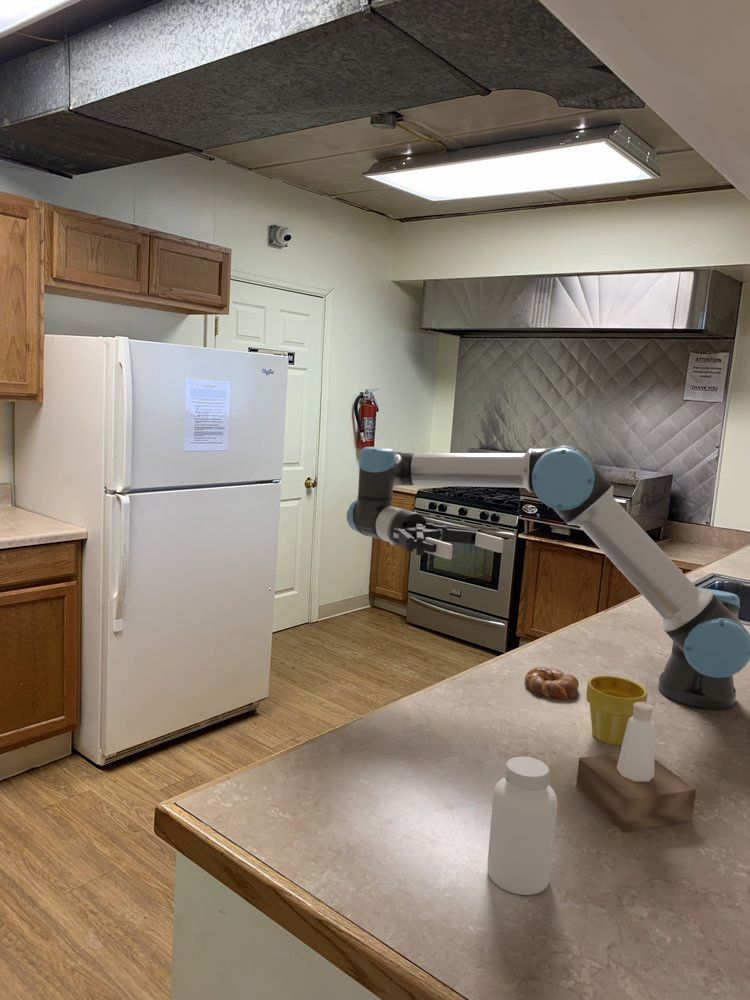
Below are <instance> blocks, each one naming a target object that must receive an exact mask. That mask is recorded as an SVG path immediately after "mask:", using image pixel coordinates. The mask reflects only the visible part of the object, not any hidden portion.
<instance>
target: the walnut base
mask: <svg viewBox="0 0 750 1000" xmlns="http://www.w3.org/2000/svg"><path fill="white" fill-rule="evenodd" d="M619 756H620V752H619V753H618V752H617V753H611V754H600V755H593V756H591V755H590V756H583V757H579V758H578V764H577V773H576V782H575V788H576V789H577V790H578V791H579V792H580V793H581V794H582V795H583V796H584V797H586V799H587V800H589V801H590V803H592V804H593V805H594V806H595V807H596V808H597V809H598V810H600V811H601V813H603V814H604V815H605V816H606V817H607V818H609V820H610V821H612V822H613V823H614V824H615V825H616V826H617V827H618V828H619V829H620V830H621V831H623V832H624V833H625V832H626V833H627V832H632V831H638V830H646V829H651V828H657V827H662V826H671V825H674V824H675V825H676V824H680V823H681V824H682V823H683V824H684V823H688V822H693V815H694V809H695V808H694V807H695V800H696V795H697V789H696V788H695V787H694V786H693V785H690V784H689V783H688V782H686V781H685V780H684V779H682V778H681V777H679V775H677V774H676V773H674V772H672V771H671V770H670V769H669V768H667V767H666V766H664V765H663V764H662V763H661V762H659V761H658V760H656V759H655V758H654V777H653V778H652V779H651V780H650V781H649V782H635V781H632V780H630V779H627V778H625V777H622V776H621V774H620V773H619V771H618V770H617V764H618V760H619Z"/></svg>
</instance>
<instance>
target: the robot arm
mask: <svg viewBox="0 0 750 1000" xmlns="http://www.w3.org/2000/svg"><path fill="white" fill-rule="evenodd" d="M358 466H359V471H358V487H357V489H358V490H357V499H356V500H354V501H352V503H351V504H350V505H349V508H348V510H347V511H346V521H347V523H348V526H349V528H350V529H351V530H353V531H354V532H357V533H359V534H361V535H362V536H366V537H371V538H374V539H378V540H380V541H385V542H388V543H389V545H390V546H395V545H397V546H400V547H402V548H404V549H405V550H406V551H407V552H409V553H412V552H414V550H415V549H416V550H415V551H416V553H415V554H416V555H417V556H423V555H424V553H426V554H430V555H433V556H436V557H439V558H442V559H446V560H452V558H453V549H454V547H453V546H454V544H452V543H457V544H468V545H469V544H470V545H474V546H475V547H478V548H481V549H485V550H488V551H490V552H495V553H499V554H500V553H501V554H502V553H503V547H504V538H502V537H498V536H495V535H490V534H488V533H487V534H486V531H485V530H483V529H482V528H480V527H479V528H478V529H473V528H467V527H459V526H452V525H448V524H444V523H441V524H438V525H437V524H434V523H429V522H427V520H426V518H425V517H424V516H423V515H422V514H421V513H419V512H416V511H412V510H407V509H404V508H400V507H396V506H392V505H393V493H394V487H395V486H401V487H402V486H407V487H408V486H409V487H411V486H424V487H425V486H426V487H427V486H428V487H429V486H430V487H432V486H433V487H471V488H472V487H477V488H479V487H481V488H482V487H483V488H521V489H523V488H524V489H526V490H527V492H529V493H535V495H536V496H537V498H538V499H539V501H541V502H542V503H543V504H545V505H546V506H547V507H549V508H551V509H553V510H554V512H555V513H557V515H558V516H559V517H560V518H561V519H562V520H563V521H564V523H566V524H567V526H569V525H570V526H578V527H580V528H581V530H583V531H584V533H585V534H586V535H587V536H588V537H589V538H590V540H592V542H593V543H594V544H595V545H596V546H597V547H598V548H599V549H600V550H601V552H603V554H604V555H605V556H606V558H608V559H609V560H610V561H611V563H612V564H613V565H614V566H615V567H616V568H617V570H619V571H620V572H621V573H622V574H623V576H624V577H625V578H626V579H627V580H628V581H629V582H630V584H632V586H633V587H634V588H636V589H637V591H638V592H639V593H640V594H641V596H643V598H645V600H646V601H647V602H648V603H649V604H650V605H651V606H652V608H654V610H656V612H657V613H658V614H659V615H660V617H662V630H663V631H664V633H666V635H667V636H668V637H669V638H670V639H671V640H672V644H671V645H672V646H671V647H672V648H671V653H670V656H669V658H668V660H667V662H666V664H665V667H664V668H663V669H664V670H663V672H661V673H660V675H659V678H658V679H659V680H658V687H657V688H658V690H659V691H660V693H661V694H662V695H663V696H665V697H667V698H669V699H671V700H672V701H675V702H677V703H680V704H683V705H687V706H690V707H694V708H699V709H706V710H726V709H730V708H732V707H734V706H735V704H736V699H737V690H736V688H735V685H734V684H735V683H734V677H733V676H734V675H736V674H738V673H740V672H741V671H742V670H743V669H744V668H745V667H746V666H747V664H748V663H749V662H750V633H749V631H748V630H747V629H746V628H745V626H744V625H743V623H742V621H741V620H740V619H739V610H740V609H741V605H740V602H741V601H740V599H741V598H740V596H738V595H737V594H735V593H732V592H728V591H724V590H723V591H722V590H717V589H711V588H704V587H697V586H695V584H694V583H693V582H692V581H691V580H690V579H689V578H688V577H687V575H686V574H685V573H684V572H683V571H682V569H680V568H679V567H678V566H677V565H676V564H675V562H673V560H672V558H670V557H669V556H668V555H667V554H666V553H665V552H664V551H663V550H662V548H661V547H660V546H659V545H658V544H657V543H656V542H655V540H653V539H652V538H651V537H650V535H649V534H648V533H647V532H646V531H645V530H644V529H643V528H642V527H641V526H640V525H639V523H638V522H636V520H635V519H634V517H632V516H631V515H630V514H629V513H628V512H627V511H626V509H625V508H624V507H623V506H622V505H621V504H620V503H619V502H618V501H617V500H616V499H615V498H614V495H613V494H614V485H613V483H611V482H610V481H609V479H608V478H607V477H606V476H605V475H604V474H603V472H601V470H600V469H598V468H597V466H596V465H595V464H594V462H593V459H592V457H591V455H590V454H588V452H586V451H585V449H582V448H581V447H579V446H575V445H572V444H561V445H558V446H552V447H542V448H540V447H539V448H528V450H527V451H526V452H508V453H507V452H414V453H413V452H402V451H395V450H394V449H392V448H390V447H381V446H365V447H363V448H362V449H361V451H360V456H359V462H358Z"/></svg>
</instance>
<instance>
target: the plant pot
mask: <svg viewBox="0 0 750 1000" xmlns="http://www.w3.org/2000/svg"><path fill="white" fill-rule="evenodd" d="M585 697H586V701H587V703H589V710H590V711H589V712H590V721H591V722H590V723H591V724H590V725H591V733H592V735H593V736H594V737H595V738H596V739H597V740H598V741H601V742H603V743H606V744H609V745H614V746H615V745H616V746H619V745H620V746H622V743H623V739H624V735H625V731H626V727H627V723H628V719H629V718H630V717H632V716H633V709H634V706H633V704H634V703H635V702H645V703H647V700H648V699H647V698H648V691H647V689H646V687H644V685H642V684H640V683H638V682H636V681H634V680H631V679H628V678H625V677H621V676H616V675H605V674H604V675H597V676H596V675H595V676H592V677H591V678H589V680H588V681H587V687H586V696H585Z"/></svg>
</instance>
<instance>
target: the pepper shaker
mask: <svg viewBox="0 0 750 1000" xmlns="http://www.w3.org/2000/svg"><path fill="white" fill-rule="evenodd" d="M633 706H634V709H633V716H632V717H630V718H629V719H628V723H627V727H626V731H625V735H624V739H623V743H622V745H621V748H620V751H619V753H620V756H619V760H618V764H617V770H618V771H619V773H620V774H621V776H622V777H625V778H627V779H630V780H632V781H635V782H649V781H650V780H651V779H652V778H653V777H654V759H655V736H656V733H655V728H656V727H655V726H656V725H655V723H654V722H653V720H652V717H653V711H654V707H653V705H651V704H650V703H647V702H646V703H645V702H635V703H634V704H633Z"/></svg>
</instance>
